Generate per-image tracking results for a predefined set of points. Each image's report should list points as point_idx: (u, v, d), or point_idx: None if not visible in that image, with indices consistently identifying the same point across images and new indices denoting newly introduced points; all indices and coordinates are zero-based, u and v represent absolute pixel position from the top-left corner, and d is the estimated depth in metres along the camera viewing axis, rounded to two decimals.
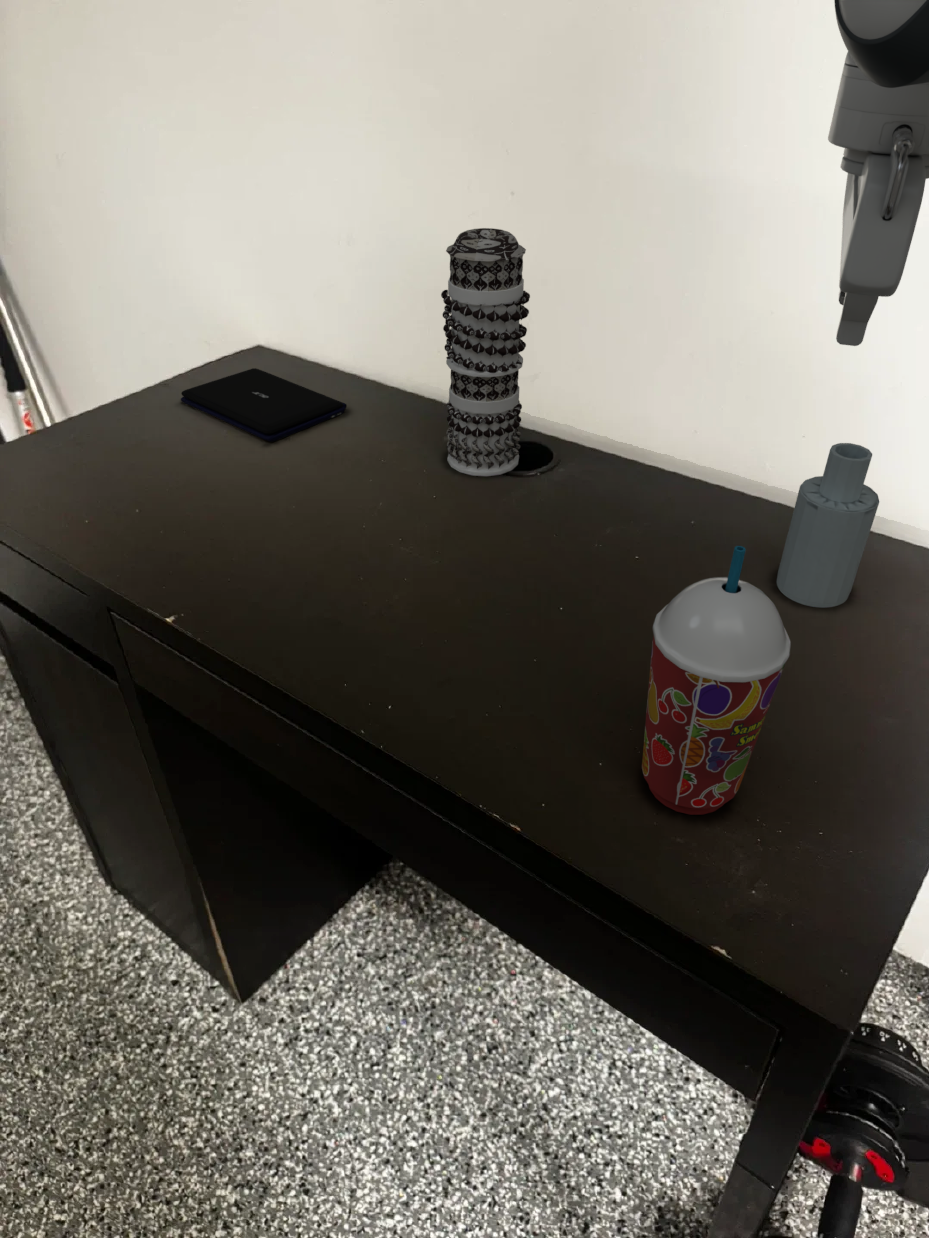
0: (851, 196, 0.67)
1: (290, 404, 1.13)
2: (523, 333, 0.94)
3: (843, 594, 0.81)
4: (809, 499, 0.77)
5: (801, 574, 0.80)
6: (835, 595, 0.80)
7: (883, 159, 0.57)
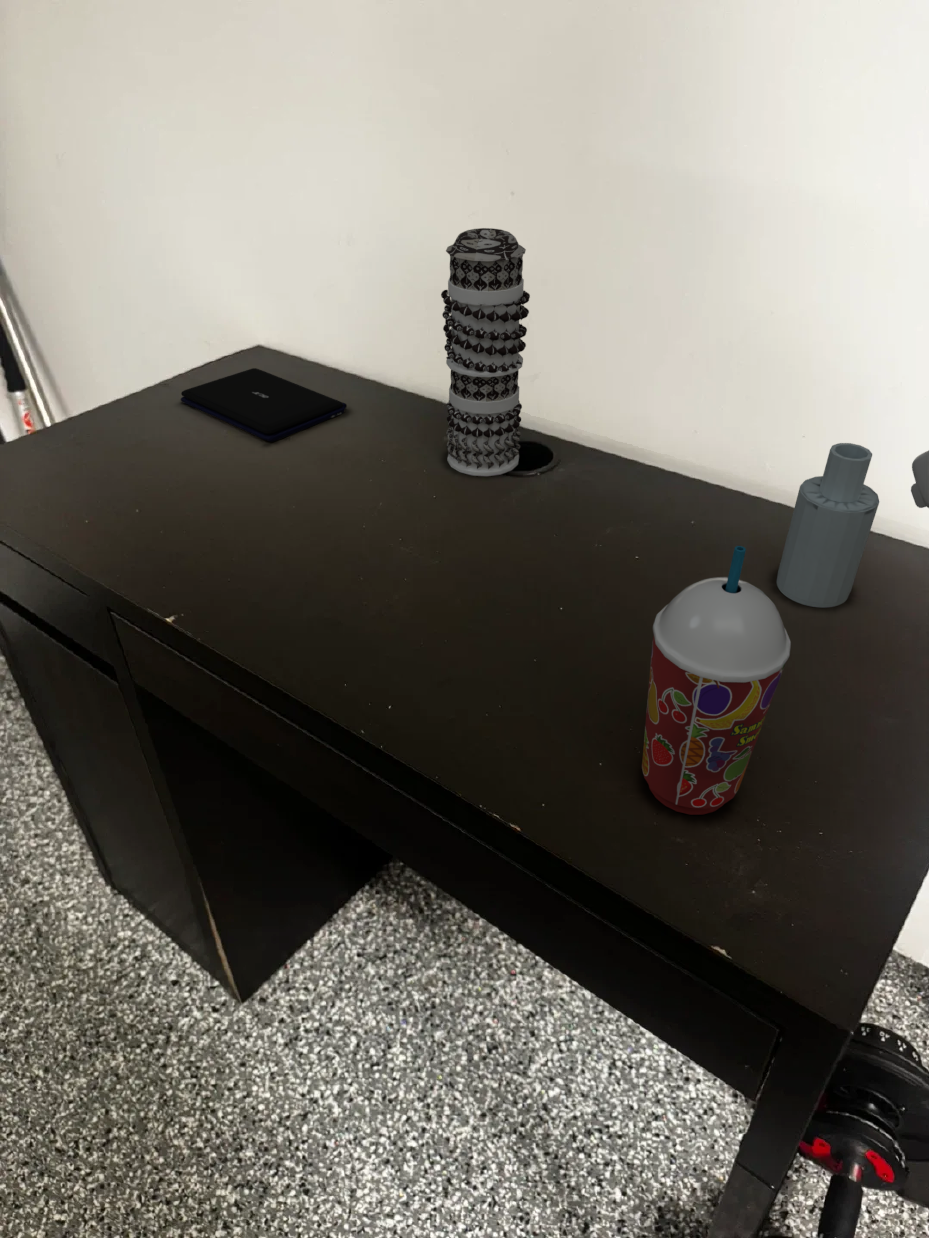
0: None
1: (290, 404, 1.13)
2: (523, 333, 0.94)
3: (843, 594, 0.81)
4: (809, 499, 0.77)
5: (801, 574, 0.80)
6: (835, 595, 0.80)
7: None
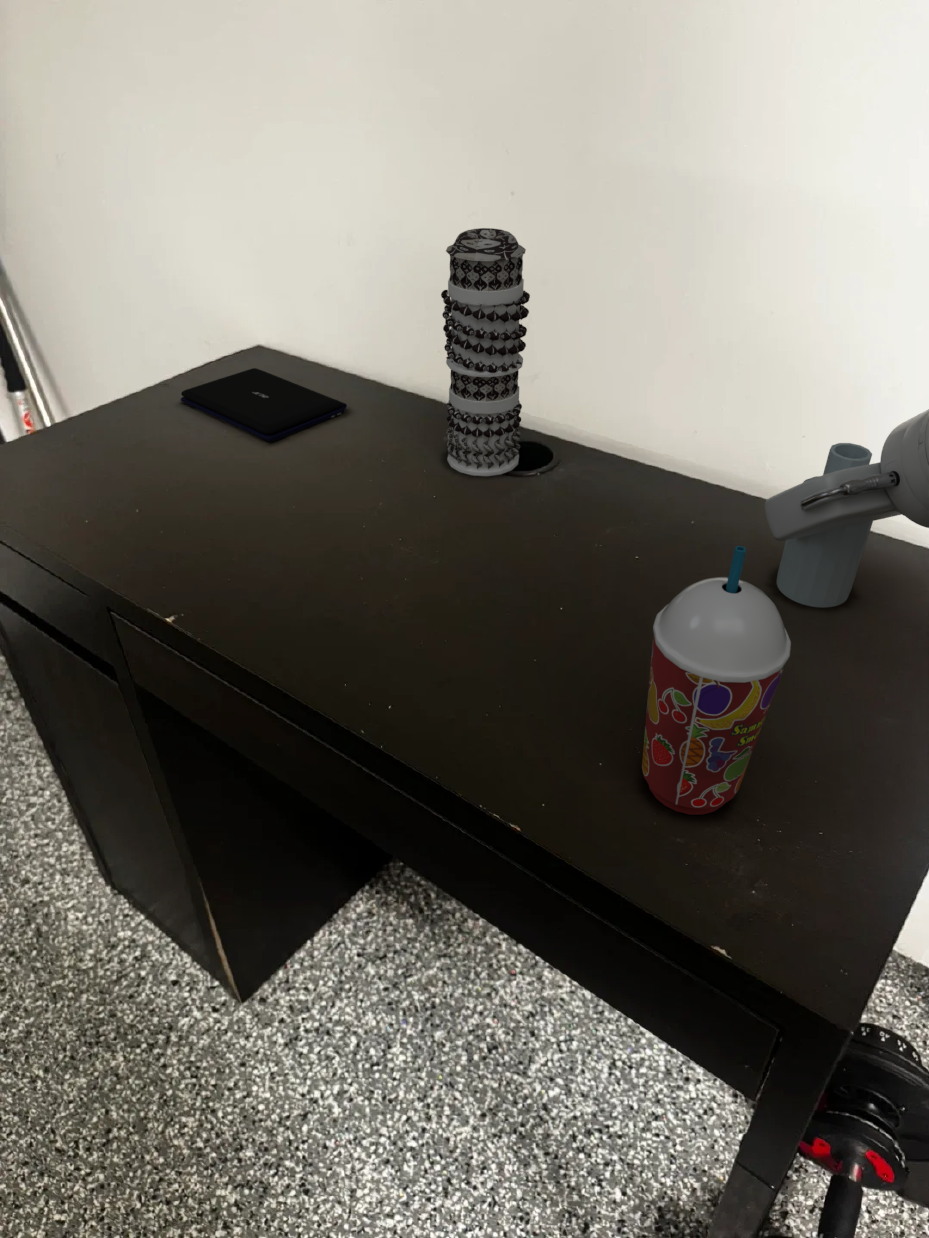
0: None
1: (290, 404, 1.13)
2: (523, 333, 0.94)
3: (843, 594, 0.81)
4: None
5: (801, 574, 0.80)
6: (835, 595, 0.80)
7: (864, 476, 0.67)
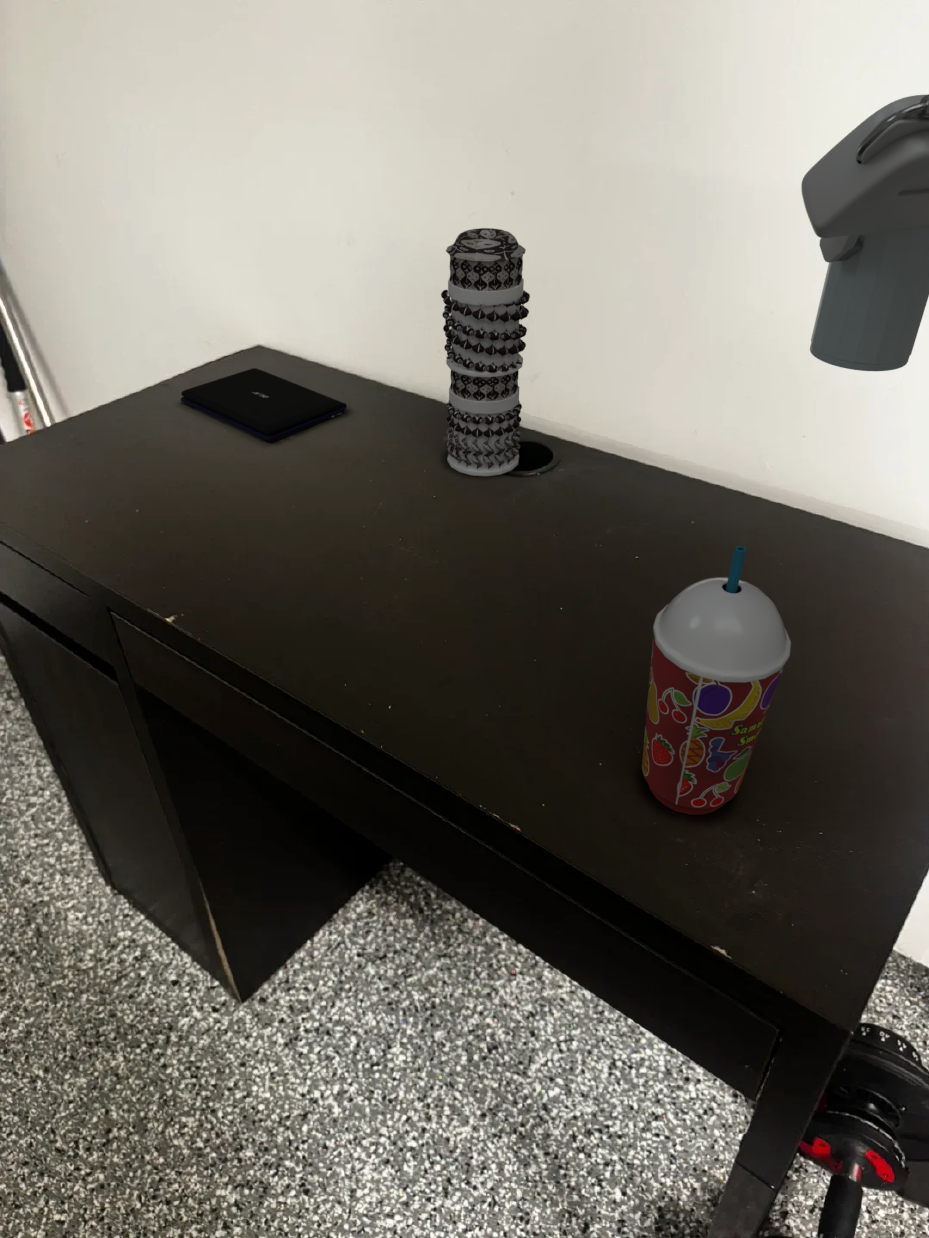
0: None
1: (290, 404, 1.13)
2: (523, 333, 0.94)
3: (902, 352, 0.60)
4: None
5: (846, 322, 0.59)
6: (892, 351, 0.59)
7: None
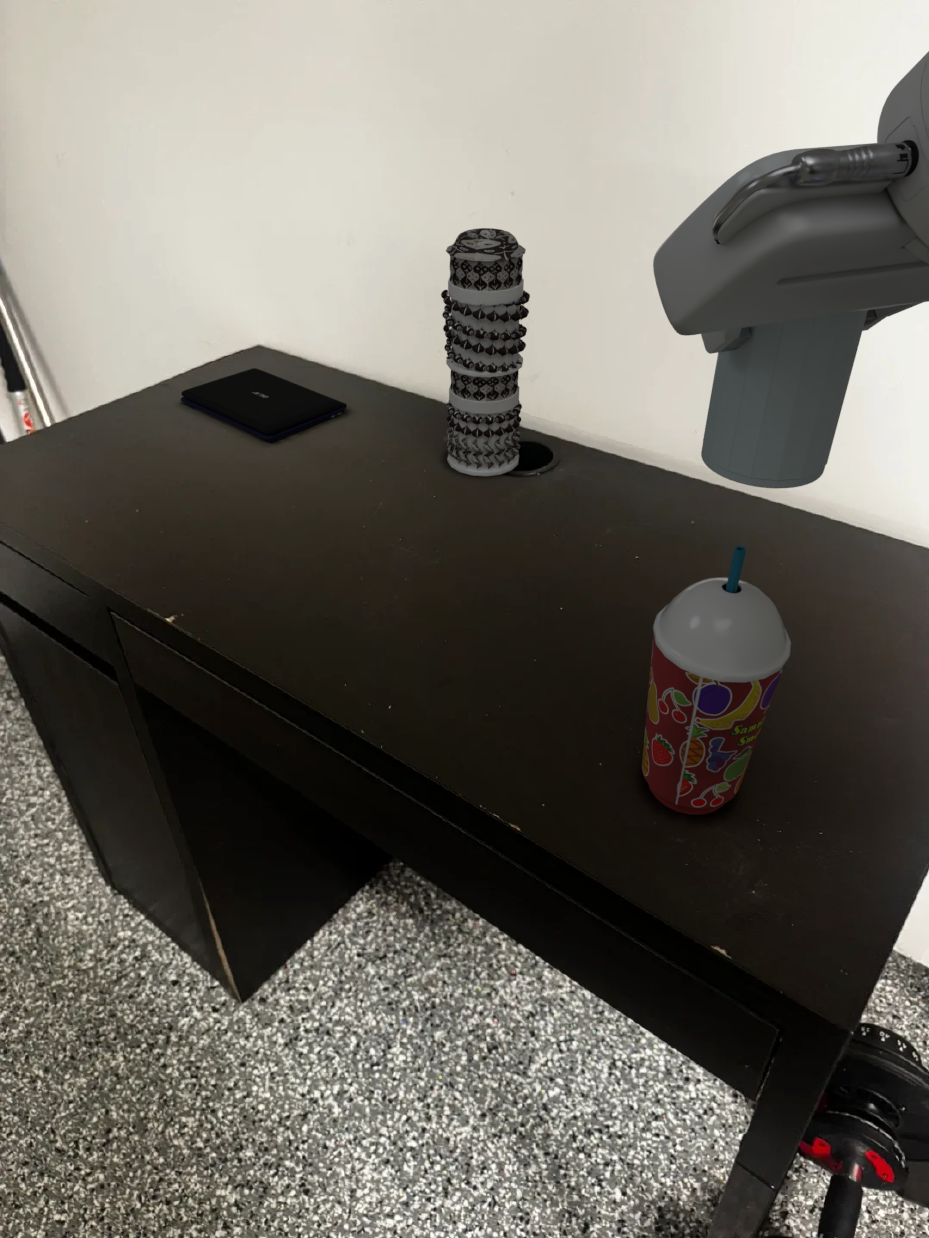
0: None
1: (290, 404, 1.13)
2: (523, 333, 0.94)
3: (813, 464, 0.46)
4: None
5: (738, 427, 0.45)
6: (799, 465, 0.45)
7: None
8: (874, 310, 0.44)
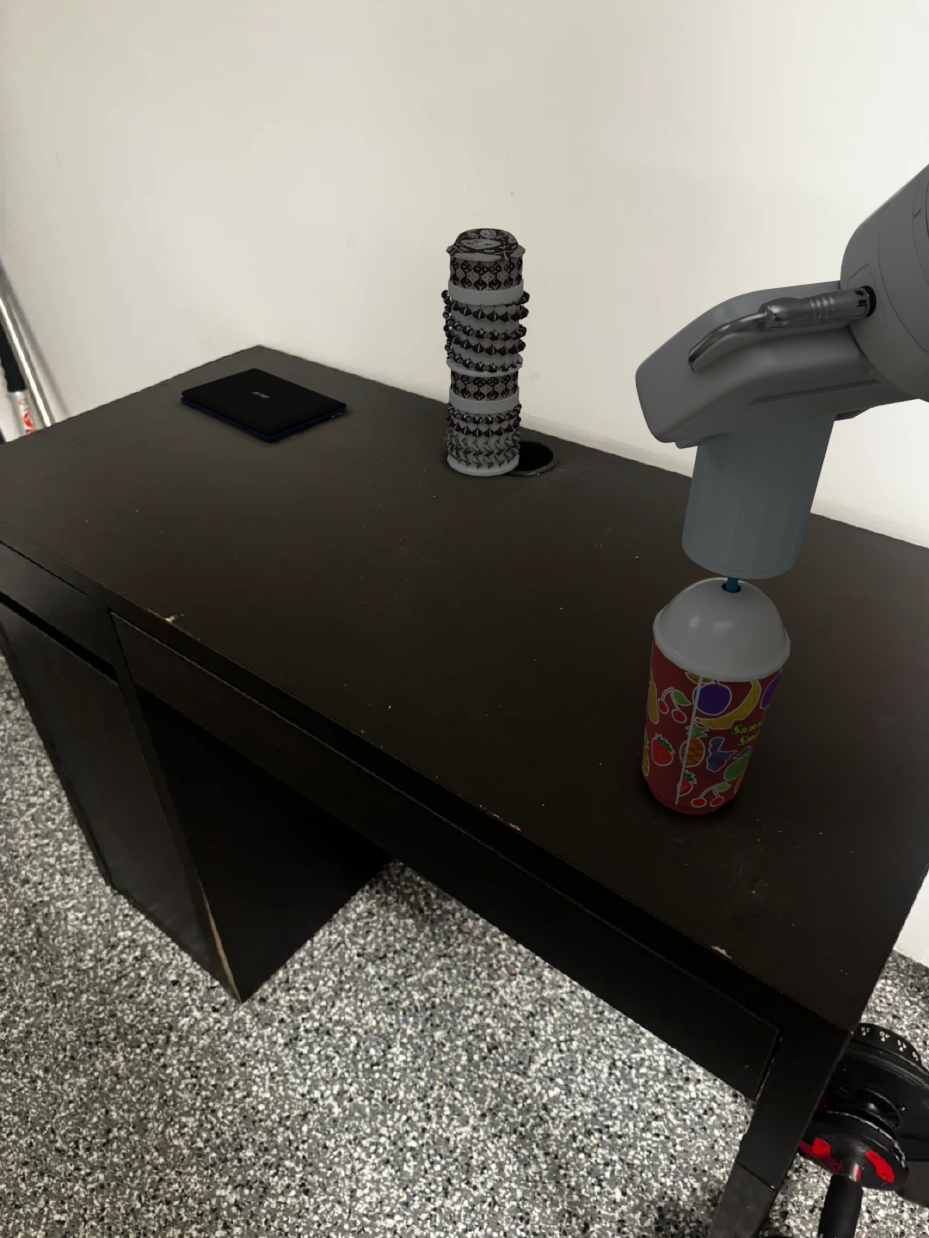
0: None
1: (290, 404, 1.13)
2: (523, 333, 0.94)
3: (785, 557, 0.49)
4: None
5: (715, 523, 0.48)
6: (771, 558, 0.48)
7: None
8: None
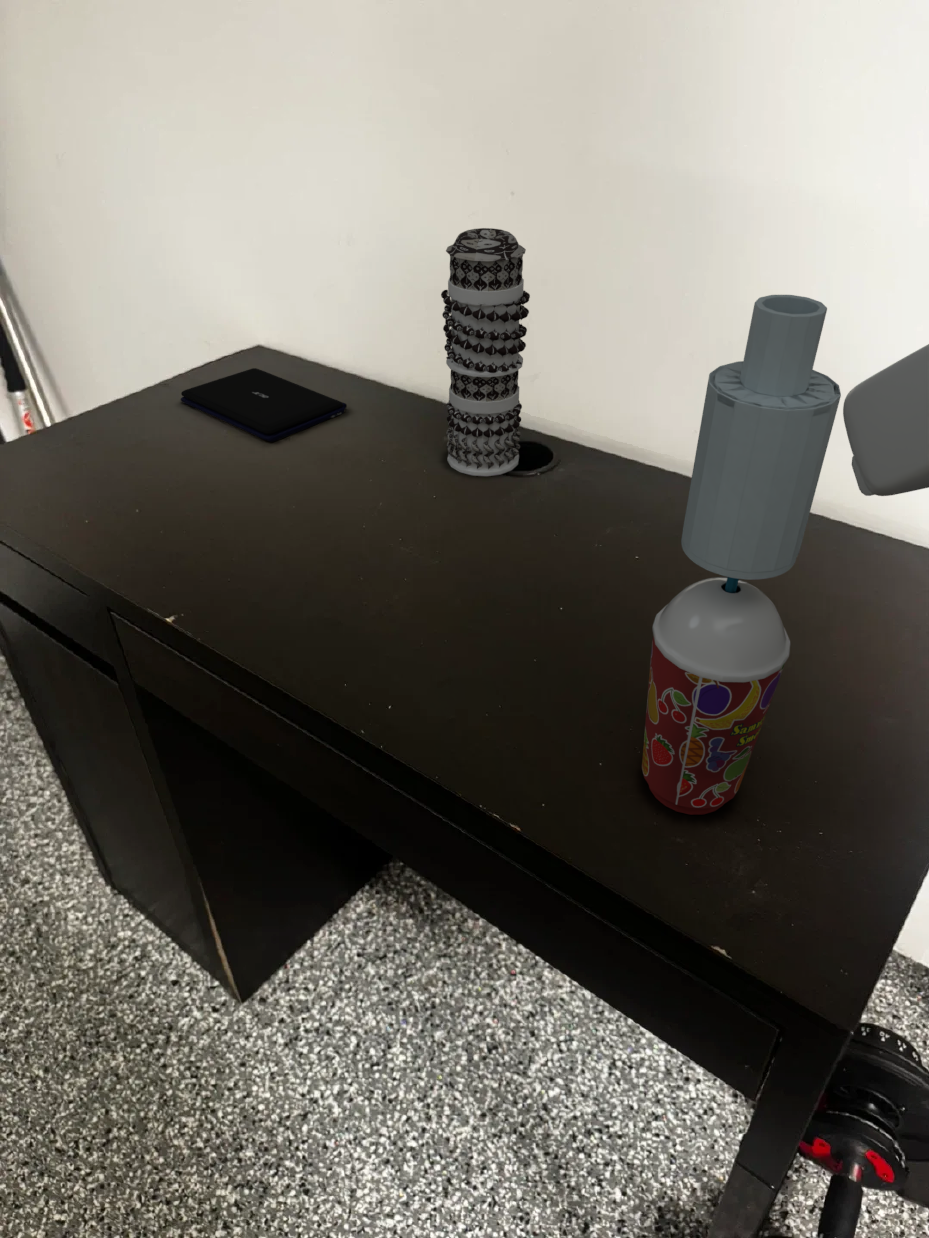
0: None
1: (290, 404, 1.13)
2: (523, 333, 0.94)
3: (785, 557, 0.49)
4: (721, 391, 0.45)
5: (714, 524, 0.48)
6: (771, 559, 0.48)
7: None
8: None
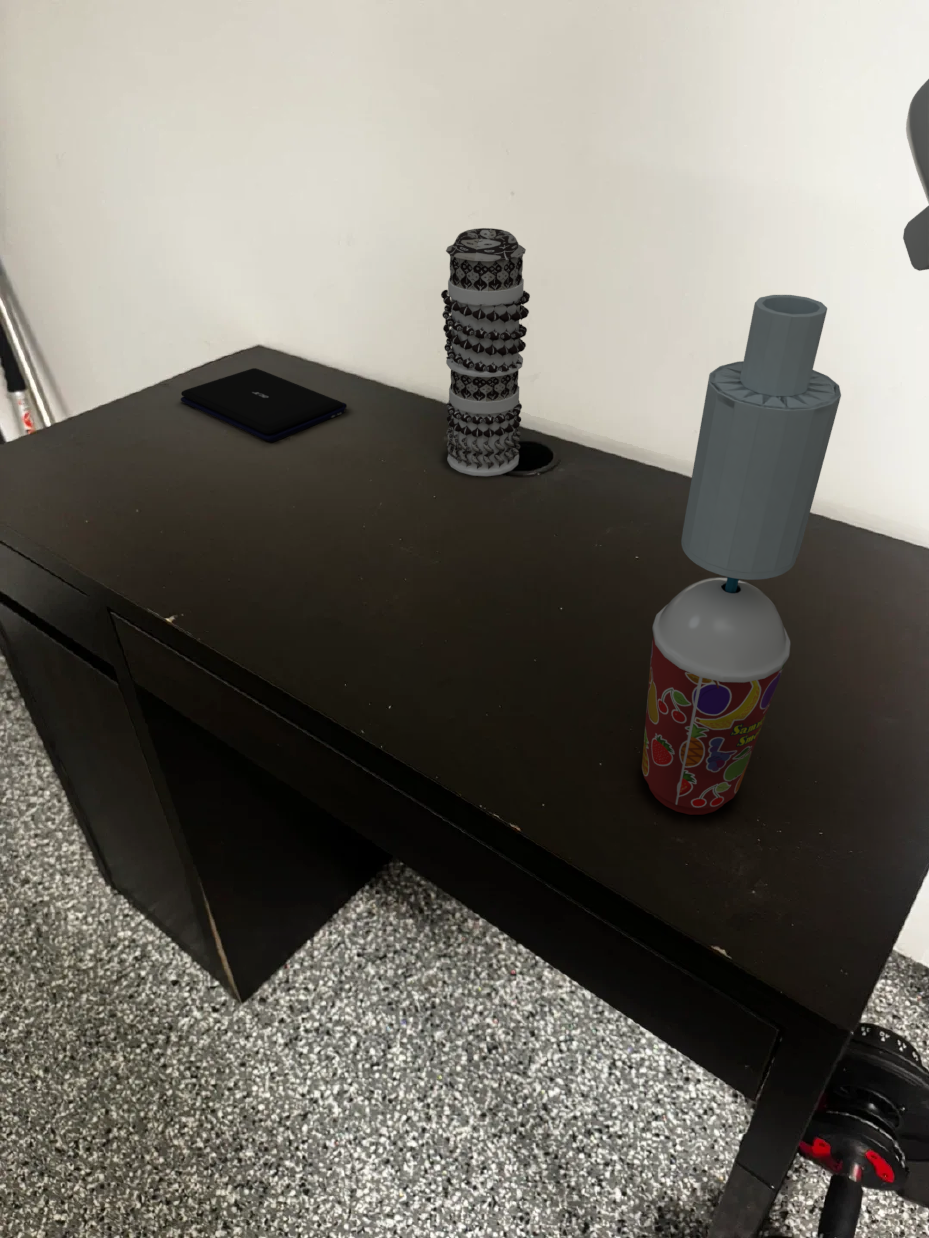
0: None
1: (290, 404, 1.13)
2: (523, 333, 0.94)
3: (785, 557, 0.49)
4: (721, 391, 0.45)
5: (714, 524, 0.48)
6: (771, 559, 0.48)
7: None
8: None
